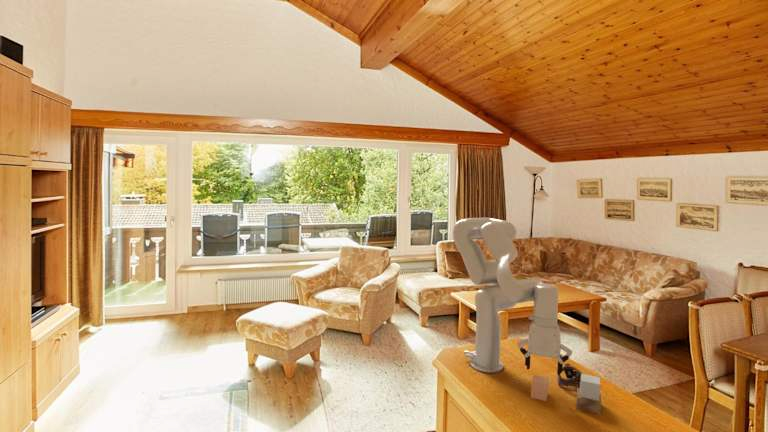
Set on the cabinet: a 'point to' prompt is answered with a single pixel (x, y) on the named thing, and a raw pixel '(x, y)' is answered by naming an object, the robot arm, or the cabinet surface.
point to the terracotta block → (539, 387)
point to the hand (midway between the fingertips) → (543, 370)
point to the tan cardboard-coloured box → (588, 404)
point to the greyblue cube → (590, 387)
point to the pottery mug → (570, 376)
